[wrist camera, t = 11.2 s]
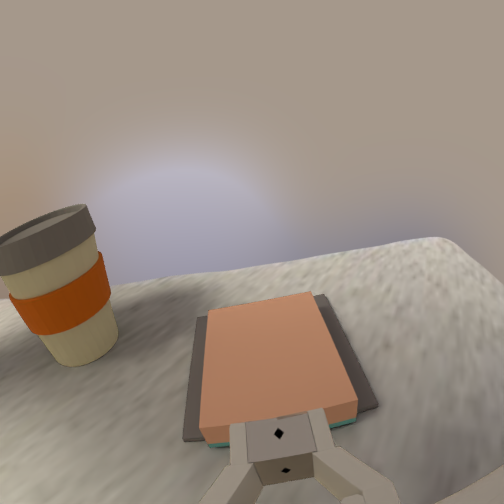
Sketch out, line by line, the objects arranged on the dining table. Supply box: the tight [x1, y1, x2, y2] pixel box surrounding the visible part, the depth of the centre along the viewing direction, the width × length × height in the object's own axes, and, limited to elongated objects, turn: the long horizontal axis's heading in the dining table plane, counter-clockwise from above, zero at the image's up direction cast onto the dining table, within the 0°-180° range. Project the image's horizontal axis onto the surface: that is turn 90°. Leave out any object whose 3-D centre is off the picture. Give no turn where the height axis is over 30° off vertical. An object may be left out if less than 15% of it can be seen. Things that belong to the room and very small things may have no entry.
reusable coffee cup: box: [0, 204, 119, 367], centre depth 30 cm, size 13×13×15 cm
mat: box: [182, 294, 378, 442], centre depth 27 cm, size 16×14×1 cm
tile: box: [199, 291, 358, 448], centre depth 24 cm, size 2×10×14 cm
